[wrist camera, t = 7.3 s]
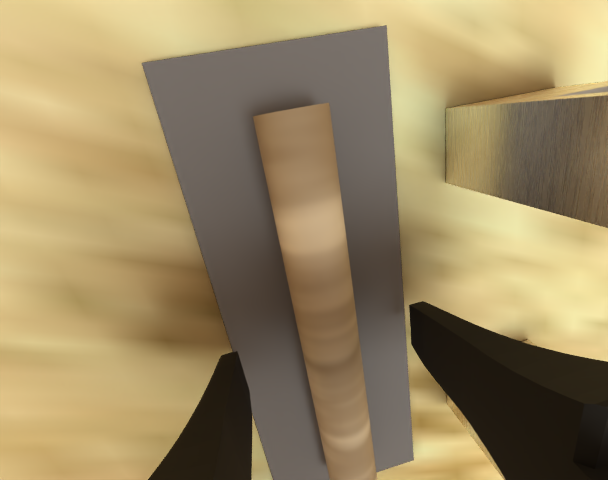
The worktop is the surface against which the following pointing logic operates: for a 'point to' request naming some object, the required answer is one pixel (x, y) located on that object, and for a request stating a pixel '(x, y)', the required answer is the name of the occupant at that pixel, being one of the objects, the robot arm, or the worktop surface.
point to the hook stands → (534, 157)
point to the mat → (263, 233)
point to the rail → (319, 279)
